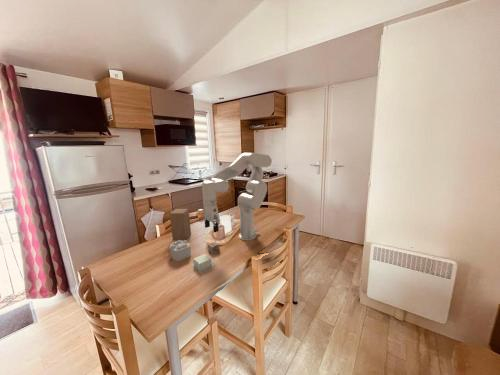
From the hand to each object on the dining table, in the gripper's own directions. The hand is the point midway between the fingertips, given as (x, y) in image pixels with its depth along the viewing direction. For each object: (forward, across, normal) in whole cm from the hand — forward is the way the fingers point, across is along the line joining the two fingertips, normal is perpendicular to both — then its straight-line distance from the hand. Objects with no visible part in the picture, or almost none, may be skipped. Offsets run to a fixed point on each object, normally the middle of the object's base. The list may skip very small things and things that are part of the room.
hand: (211, 229), depth 123 cm
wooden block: (+15, +35, +4) cm, 38 cm away
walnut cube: (+15, 0, -1) cm, 15 cm away
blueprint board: (+15, -8, +10) cm, 20 cm away
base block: (+14, -9, +12) cm, 21 cm away
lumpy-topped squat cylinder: (+16, +11, +16) cm, 25 cm away
